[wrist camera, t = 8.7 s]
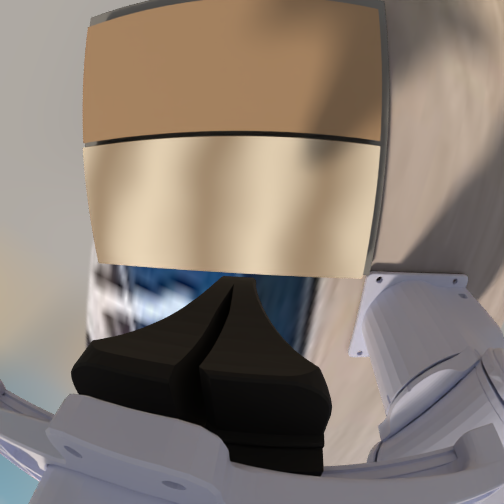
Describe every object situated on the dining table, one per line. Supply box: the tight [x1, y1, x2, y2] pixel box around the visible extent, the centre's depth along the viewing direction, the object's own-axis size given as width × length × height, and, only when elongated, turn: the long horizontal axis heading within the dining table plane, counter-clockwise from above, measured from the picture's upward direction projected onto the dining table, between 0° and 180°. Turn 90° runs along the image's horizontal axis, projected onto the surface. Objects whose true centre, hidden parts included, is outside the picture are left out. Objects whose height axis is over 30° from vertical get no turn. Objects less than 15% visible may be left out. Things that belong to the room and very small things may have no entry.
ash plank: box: [83, 135, 380, 279], centre depth 17 cm, size 18×8×2 cm, turn 89°
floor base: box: [83, 0, 389, 275], centre depth 16 cm, size 20×19×2 cm
